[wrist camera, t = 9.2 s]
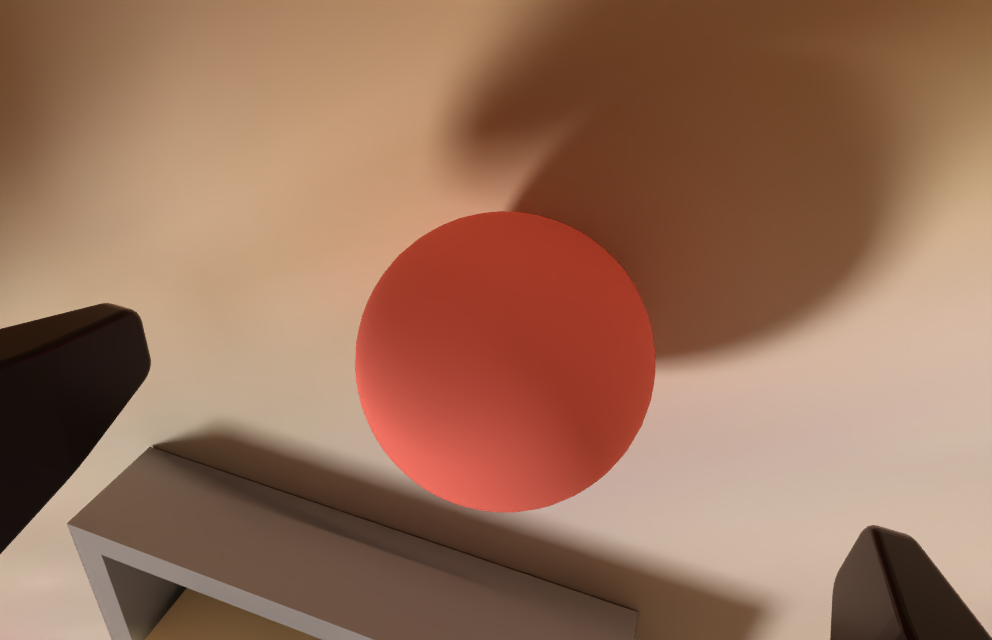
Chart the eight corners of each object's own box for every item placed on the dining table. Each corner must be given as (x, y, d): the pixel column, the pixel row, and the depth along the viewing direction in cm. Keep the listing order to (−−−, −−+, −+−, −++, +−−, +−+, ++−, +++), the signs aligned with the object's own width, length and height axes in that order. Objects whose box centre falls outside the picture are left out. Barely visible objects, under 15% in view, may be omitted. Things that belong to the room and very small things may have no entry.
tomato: (422, 357, 13) (305, 521, 9) (430, 145, 10) (281, 263, 7) (641, 418, 12) (594, 621, 9) (701, 201, 10) (668, 365, 6)
